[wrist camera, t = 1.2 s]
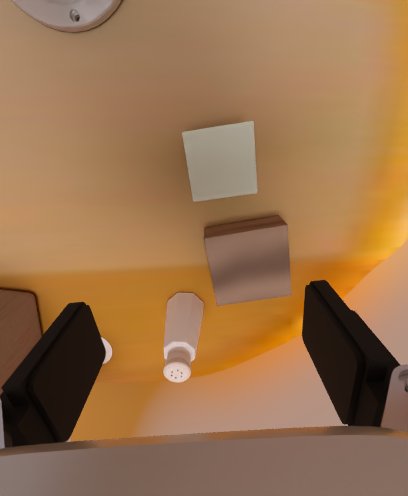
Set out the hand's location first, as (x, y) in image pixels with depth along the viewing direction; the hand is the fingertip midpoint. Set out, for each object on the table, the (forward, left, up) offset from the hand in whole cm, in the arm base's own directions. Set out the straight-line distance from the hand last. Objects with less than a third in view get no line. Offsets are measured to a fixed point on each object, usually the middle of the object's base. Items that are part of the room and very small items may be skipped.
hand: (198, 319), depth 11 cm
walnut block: (+7, +4, -21) cm, 22 cm away
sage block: (-5, +2, -20) cm, 21 cm away
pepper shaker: (+14, -5, -21) cm, 25 cm away
